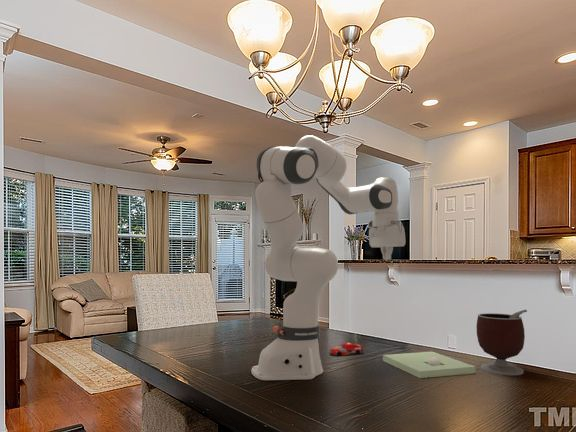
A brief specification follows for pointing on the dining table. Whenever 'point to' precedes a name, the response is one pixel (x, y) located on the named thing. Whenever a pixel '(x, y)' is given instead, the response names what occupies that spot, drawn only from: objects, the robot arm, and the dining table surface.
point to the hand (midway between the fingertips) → (387, 259)
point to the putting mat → (422, 369)
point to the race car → (346, 349)
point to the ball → (434, 361)
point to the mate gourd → (501, 340)
